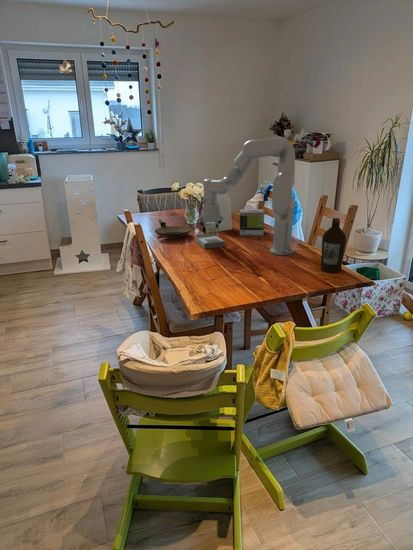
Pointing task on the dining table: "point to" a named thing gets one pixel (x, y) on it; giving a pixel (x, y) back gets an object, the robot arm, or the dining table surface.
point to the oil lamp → (171, 230)
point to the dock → (209, 241)
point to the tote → (210, 225)
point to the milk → (224, 211)
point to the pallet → (212, 232)
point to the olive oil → (333, 248)
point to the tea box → (251, 222)
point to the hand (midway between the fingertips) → (210, 232)
